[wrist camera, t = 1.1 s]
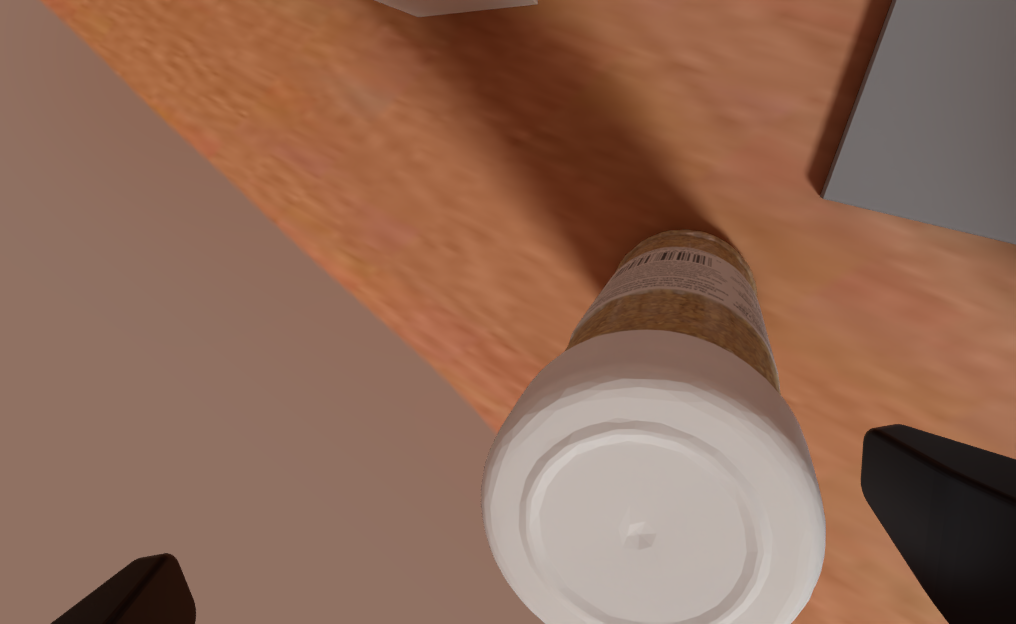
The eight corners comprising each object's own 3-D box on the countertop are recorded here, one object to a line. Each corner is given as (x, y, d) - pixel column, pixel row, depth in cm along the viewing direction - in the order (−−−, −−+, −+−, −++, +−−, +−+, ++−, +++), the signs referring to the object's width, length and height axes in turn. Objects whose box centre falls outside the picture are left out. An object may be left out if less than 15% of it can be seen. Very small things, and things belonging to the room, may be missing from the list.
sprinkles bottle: (603, 350, 22) (461, 631, 10) (621, 216, 21) (482, 341, 8) (745, 375, 21) (790, 732, 8) (773, 235, 20) (874, 412, 7)
